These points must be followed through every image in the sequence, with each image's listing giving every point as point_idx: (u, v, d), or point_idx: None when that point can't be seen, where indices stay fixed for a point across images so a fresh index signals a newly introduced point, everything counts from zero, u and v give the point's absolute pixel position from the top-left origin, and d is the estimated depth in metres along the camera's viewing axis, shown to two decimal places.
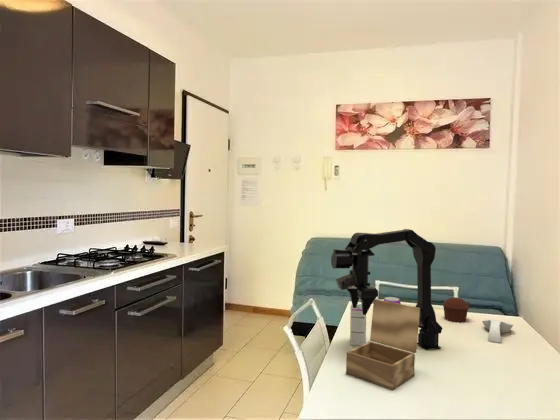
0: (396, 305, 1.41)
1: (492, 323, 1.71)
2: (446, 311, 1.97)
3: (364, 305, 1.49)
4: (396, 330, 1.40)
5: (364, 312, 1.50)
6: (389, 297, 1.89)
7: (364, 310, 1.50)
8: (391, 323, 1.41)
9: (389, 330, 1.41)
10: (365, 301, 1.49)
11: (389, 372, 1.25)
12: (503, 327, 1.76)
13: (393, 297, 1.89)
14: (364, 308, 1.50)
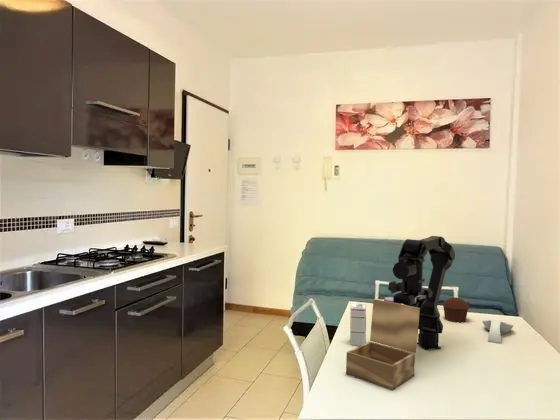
0: (396, 305, 1.41)
1: (492, 324, 1.71)
2: (446, 311, 1.97)
3: None
4: (396, 330, 1.40)
5: None
6: (389, 297, 1.89)
7: None
8: (391, 323, 1.41)
9: (389, 330, 1.41)
10: None
11: (389, 372, 1.25)
12: (503, 327, 1.76)
13: None
14: None
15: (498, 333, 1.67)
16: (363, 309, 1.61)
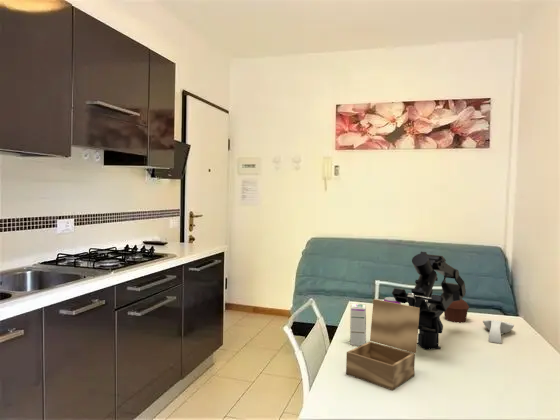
0: (396, 305, 1.41)
1: (492, 324, 1.71)
2: (446, 311, 1.97)
3: None
4: (396, 330, 1.40)
5: None
6: (389, 297, 1.89)
7: None
8: (391, 323, 1.41)
9: (389, 330, 1.41)
10: None
11: (389, 372, 1.25)
12: (504, 327, 1.76)
13: (393, 297, 1.89)
14: None
15: (498, 333, 1.67)
16: (363, 309, 1.61)
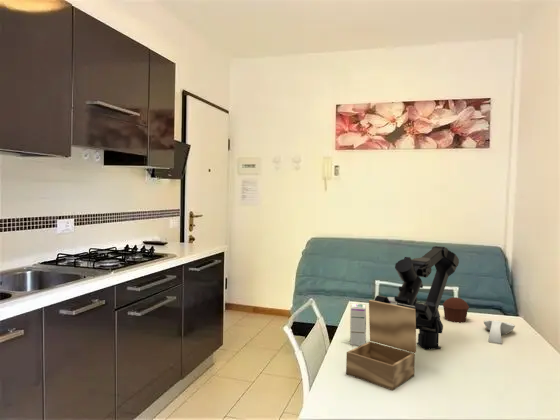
0: (391, 307, 1.38)
1: (493, 324, 1.70)
2: (446, 311, 1.97)
3: None
4: (394, 331, 1.39)
5: None
6: (389, 297, 1.89)
7: None
8: (388, 324, 1.40)
9: (387, 331, 1.40)
10: None
11: (389, 372, 1.25)
12: (504, 328, 1.75)
13: (393, 297, 1.89)
14: None
15: (498, 334, 1.67)
16: (363, 309, 1.61)
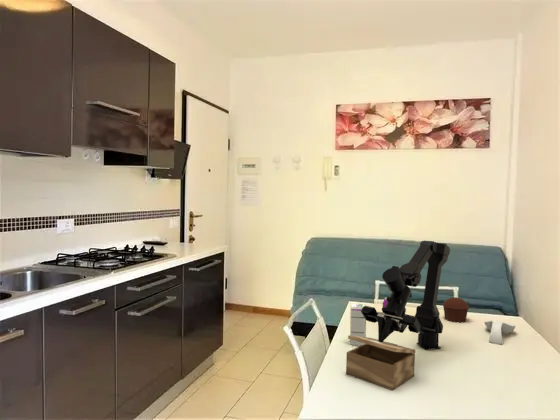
0: (372, 345, 1.30)
1: (493, 325, 1.70)
2: (446, 311, 1.97)
3: None
4: None
5: None
6: None
7: None
8: None
9: None
10: None
11: (389, 372, 1.25)
12: (505, 328, 1.75)
13: None
14: None
15: (499, 334, 1.66)
16: None
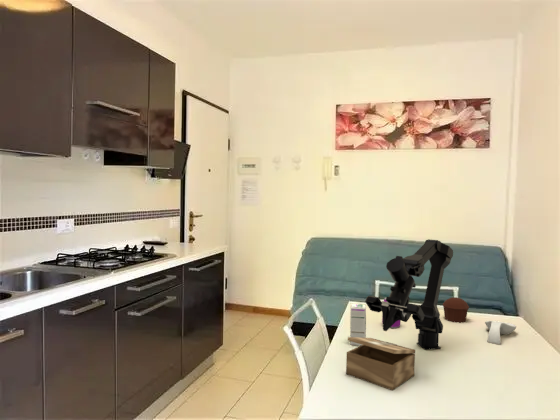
0: None
1: (492, 324, 1.70)
2: (446, 311, 1.97)
3: None
4: None
5: None
6: None
7: None
8: None
9: None
10: None
11: (389, 372, 1.25)
12: (505, 328, 1.74)
13: None
14: None
15: (498, 334, 1.66)
16: (363, 309, 1.61)
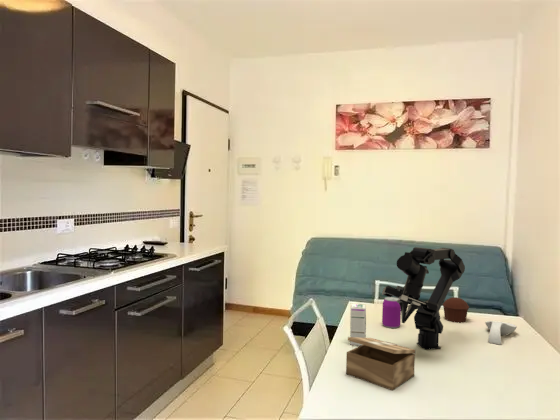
0: None
1: (493, 325, 1.69)
2: (446, 311, 1.97)
3: (401, 311, 1.51)
4: None
5: (402, 320, 1.49)
6: (389, 297, 1.89)
7: (401, 317, 1.50)
8: None
9: None
10: (402, 307, 1.51)
11: (389, 372, 1.25)
12: (505, 328, 1.74)
13: (393, 297, 1.89)
14: (402, 315, 1.50)
15: (498, 334, 1.66)
16: (363, 309, 1.61)
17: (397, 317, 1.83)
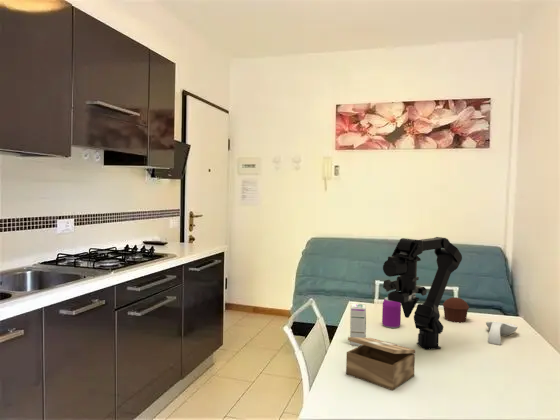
0: None
1: (493, 325, 1.69)
2: (446, 311, 1.97)
3: (403, 307, 1.53)
4: None
5: (406, 315, 1.53)
6: None
7: (405, 313, 1.53)
8: None
9: None
10: (405, 304, 1.53)
11: (389, 372, 1.25)
12: (506, 329, 1.73)
13: None
14: (405, 311, 1.53)
15: (498, 334, 1.65)
16: (363, 309, 1.61)
17: (397, 317, 1.83)
